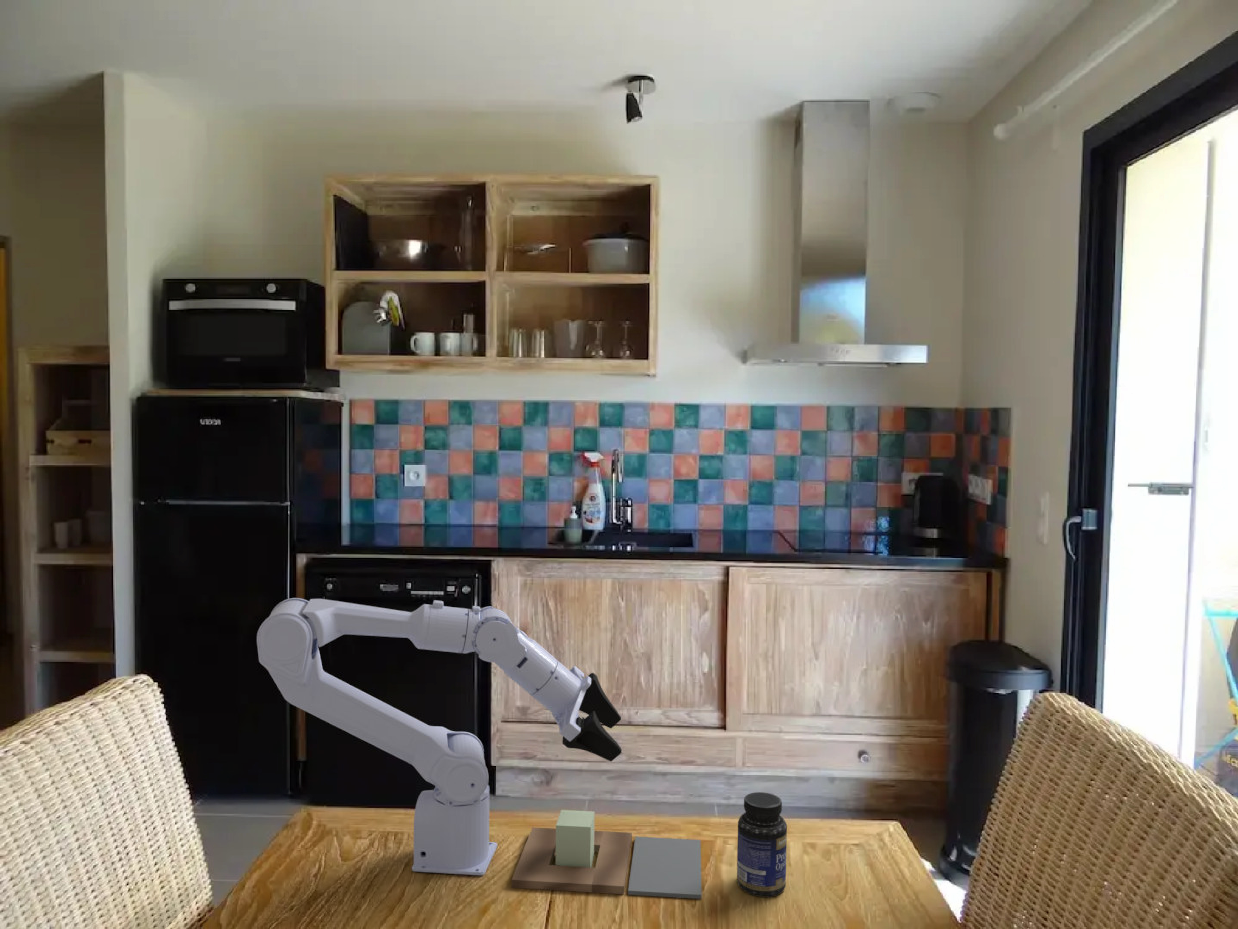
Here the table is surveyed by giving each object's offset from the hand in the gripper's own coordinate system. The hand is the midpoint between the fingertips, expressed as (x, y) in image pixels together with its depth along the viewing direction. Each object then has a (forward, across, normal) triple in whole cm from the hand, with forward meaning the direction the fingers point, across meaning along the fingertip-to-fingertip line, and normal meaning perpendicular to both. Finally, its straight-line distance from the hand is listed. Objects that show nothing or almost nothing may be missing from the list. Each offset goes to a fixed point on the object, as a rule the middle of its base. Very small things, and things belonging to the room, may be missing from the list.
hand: (616, 738), depth 118 cm
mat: (+14, -9, +5) cm, 17 cm away
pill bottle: (+22, -13, -4) cm, 26 cm away
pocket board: (+5, -8, +13) cm, 16 cm away
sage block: (+5, -8, +13) cm, 17 cm away
